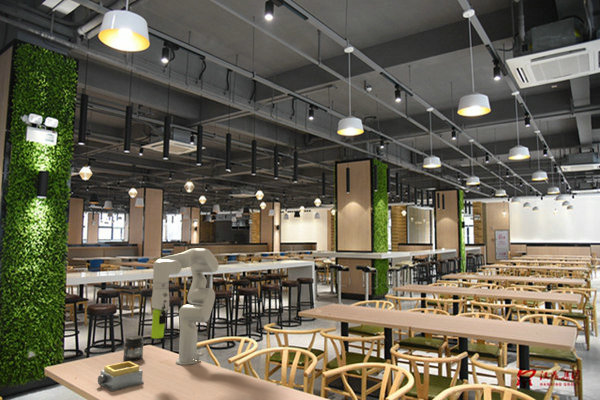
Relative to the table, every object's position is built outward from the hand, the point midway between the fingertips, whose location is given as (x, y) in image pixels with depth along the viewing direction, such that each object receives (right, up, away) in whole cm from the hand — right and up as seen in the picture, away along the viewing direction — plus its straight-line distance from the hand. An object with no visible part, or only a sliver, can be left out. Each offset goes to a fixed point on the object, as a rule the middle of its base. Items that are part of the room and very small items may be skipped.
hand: (159, 322), depth 204 cm
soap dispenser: (0, -7, -1) cm, 7 cm away
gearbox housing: (-15, -27, -8) cm, 32 cm away
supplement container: (-26, -31, +32) cm, 51 cm away
